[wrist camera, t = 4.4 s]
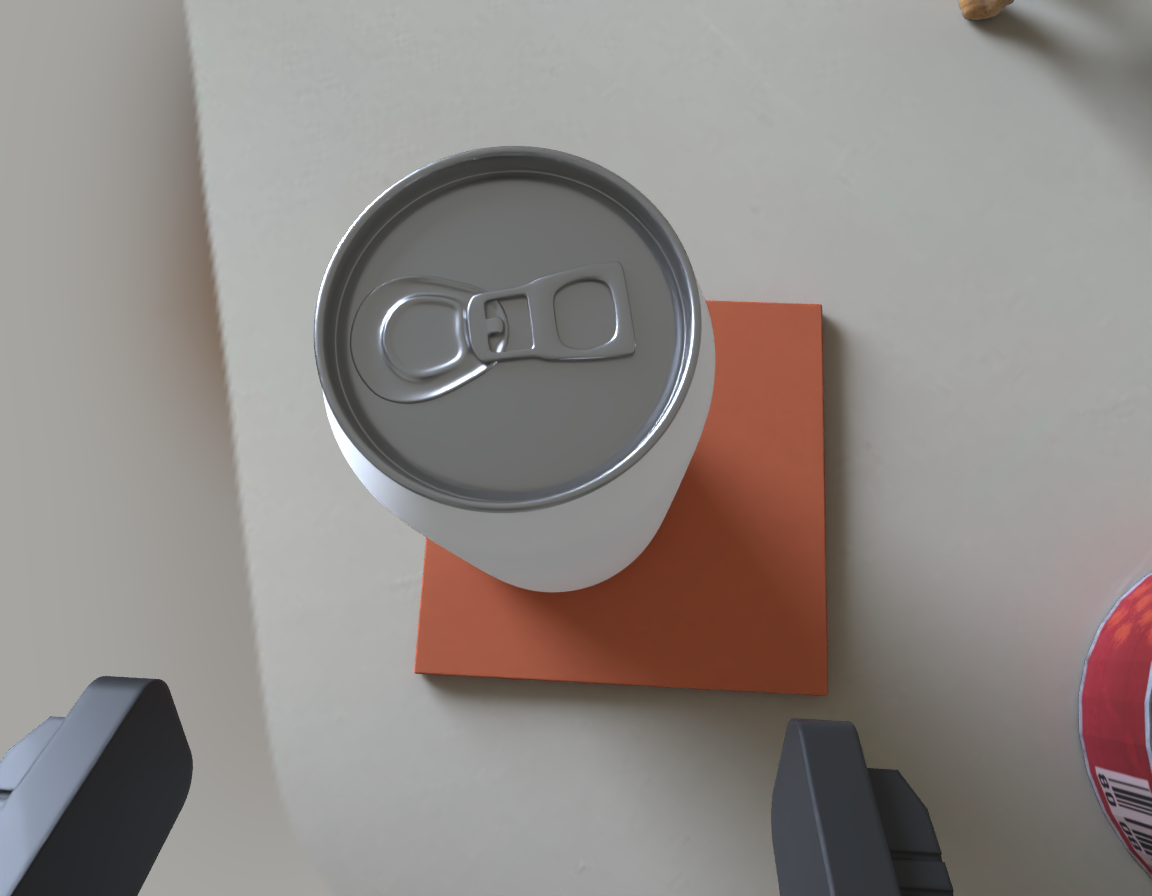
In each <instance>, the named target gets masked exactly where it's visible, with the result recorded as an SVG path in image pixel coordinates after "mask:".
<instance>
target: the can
mask: <svg viewBox="0 0 1152 896" xmlns="http://www.w3.org/2000/svg"><path fill="white" fill-rule="evenodd" d="M314 349H315V358H316V365H317V370H318V375H319V379H320V382H321V386H322V389H323V395H324V401H325V406H326V411H327V415H328V418H329V422H330V425H331V428H332V431H333V433H334V436H335V438H336V440H337V443H338V445H339V447H340V449H341V451H342V453H343V455H344V456H345V458H346V460H347V462H348V463H349V465H350V466H351V468H352V469H353V471H354V472H355V474H356V475H357V476H358V478H359V479H360V480H361V482H362V483H363V484H364V485H365V487H366V488H367V489H368V490H369V491H370V492H371V494H372V495H373V496H374V497H375V498H376V499H377V500H378V501H379V502H380V503H381V504H382V505H383V506H385V507H386V508H387V509H388V510H389V511H390V512H392V513H393V514H394V515H395V516H397V517H398V518H399V519H400V520H402V521H403V522H404V523H406V524H407V525H408V526H410V527H411V528H413V529H414V530H416V531H417V532H419V533H421V534H422V535H424V536H425V537H427V538H428V539H430V540H432V541H433V542H435V543H436V544H438V545H440V546H441V547H443V548H445V549H446V550H448V551H450V552H451V553H453V554H455V555H456V556H458V557H460V558H461V559H463V560H465V561H466V562H468V563H470V564H472V565H473V566H475V567H477V568H478V569H480V570H482V571H484V572H486V573H487V574H489V575H491V576H493V577H495V578H497V579H499V580H501V581H503V582H505V583H508V584H511V585H513V586H516V587H519V588H523V589H527V590H532V591H539V592H567V591H574V590H579V589H583V588H587V587H590V586H593V585H595V584H598V583H600V582H603V581H605V580H607V579H609V578H611V577H612V576H614V575H616V574H617V573H619V572H620V571H622V570H623V569H625V568H626V567H627V566H628V565H630V564H631V563H632V562H633V561H634V560H635V559H636V558H637V557H638V556H639V555H640V554H641V553H642V552H643V551H644V550H645V548H646V547H647V546H648V545H649V543H650V542H651V540H652V539H653V537H654V536H655V534H656V533H657V531H658V529H659V527H660V525H661V524H662V522H663V520H664V518H665V516H666V514H667V511H668V509H669V507H670V505H671V503H672V501H673V499H674V497H675V494H676V492H677V490H678V488H679V486H680V483H681V481H682V479H683V477H684V475H685V472H686V470H687V468H688V465H689V463H690V461H691V459H692V456H693V454H694V452H695V449H696V447H697V444H698V442H699V439H700V437H701V434H702V431H703V428H704V425H705V422H706V419H707V416H708V412H709V408H710V404H711V399H712V394H713V387H714V377H715V343H714V334H713V328H712V323H711V318H710V314H709V311H708V307H707V304H706V301H705V298H704V296H703V293H702V291H701V288H700V286H699V284H698V282H697V280H696V278H695V275H694V272H693V269H692V266H691V263H690V261H689V258H688V256H687V253H686V251H685V249H684V247H683V245H682V243H681V241H680V240H679V238H678V236H677V234H676V233H675V231H674V230H673V228H672V227H671V225H670V224H669V222H668V221H667V220H666V218H665V217H664V216H663V215H662V213H661V212H660V211H659V210H658V209H657V208H656V206H655V205H654V204H653V203H652V202H651V201H650V200H649V199H648V198H647V197H646V196H644V195H643V194H642V193H641V192H640V191H639V190H638V189H636V188H635V187H634V186H632V185H631V184H630V183H628V182H627V181H626V180H624V179H623V178H621V177H620V176H618V175H616V174H615V173H613V172H611V171H610V170H608V169H606V168H604V167H602V166H600V165H598V164H596V163H593V162H591V161H589V160H586V159H584V158H581V157H578V156H575V155H572V154H568V153H565V152H561V151H556V150H551V149H546V148H539V147H528V146H499V147H489V148H482V149H476V150H471V151H466V152H462V153H459V154H455V155H452V156H449V157H446V158H443V159H440V160H438V161H435V162H433V163H431V164H428V165H426V166H424V167H422V168H420V169H418V170H416V171H414V172H413V173H411V174H409V175H407V176H406V177H404V178H403V179H401V180H399V181H398V182H397V183H395V184H394V185H392V186H391V187H390V188H388V189H387V190H386V191H384V192H383V193H382V194H381V195H380V196H379V197H377V198H376V199H375V200H374V201H373V202H372V203H371V204H370V205H369V206H368V207H367V208H366V209H365V210H364V211H363V212H362V213H361V214H360V216H359V217H358V218H357V219H356V220H355V222H354V223H353V224H352V226H351V227H350V228H349V229H348V231H347V232H346V234H345V235H344V237H343V238H342V240H341V242H340V243H339V245H338V247H337V249H336V250H335V252H334V254H333V256H332V258H331V260H330V263H329V265H328V267H327V270H326V272H325V275H324V278H323V281H322V284H321V288H320V291H319V295H318V300H317V305H316V311H315V320H314Z"/></svg>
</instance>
